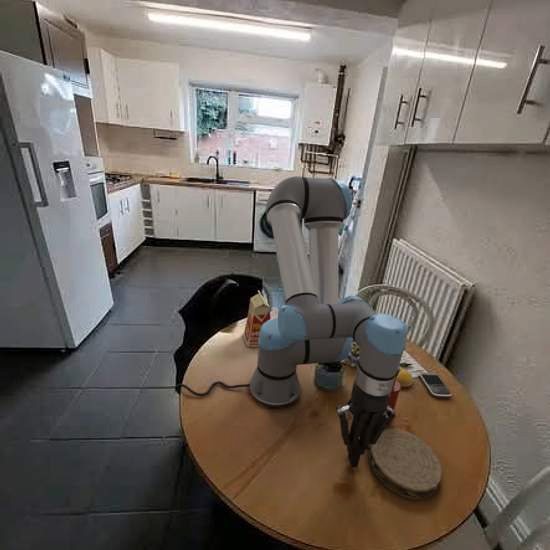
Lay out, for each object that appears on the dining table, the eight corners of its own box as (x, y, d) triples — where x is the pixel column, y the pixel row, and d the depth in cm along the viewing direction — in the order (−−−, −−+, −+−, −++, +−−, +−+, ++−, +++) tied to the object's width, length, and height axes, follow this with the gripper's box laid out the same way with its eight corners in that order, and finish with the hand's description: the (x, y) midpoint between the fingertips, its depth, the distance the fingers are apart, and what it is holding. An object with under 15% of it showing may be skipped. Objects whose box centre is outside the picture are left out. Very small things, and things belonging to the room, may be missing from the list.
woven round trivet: (411, 433, 84) (414, 424, 83) (454, 492, 70) (458, 483, 69) (357, 440, 81) (360, 432, 79) (391, 505, 66) (394, 496, 65)
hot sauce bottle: (374, 424, 86) (388, 373, 79) (367, 408, 91) (380, 359, 84) (394, 424, 86) (409, 374, 79) (386, 409, 91) (400, 360, 85)
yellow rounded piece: (404, 392, 99) (407, 382, 97) (379, 376, 105) (382, 366, 103) (416, 381, 104) (419, 371, 102) (392, 367, 110) (394, 357, 108)
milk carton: (243, 334, 121) (245, 288, 114) (265, 332, 124) (269, 287, 116) (248, 348, 113) (251, 300, 106) (272, 345, 116) (276, 298, 109)
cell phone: (432, 398, 97) (433, 395, 96) (417, 374, 107) (418, 371, 107) (451, 399, 97) (453, 395, 97) (434, 375, 107) (435, 372, 107)
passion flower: (350, 378, 111) (334, 353, 107) (355, 356, 119) (340, 333, 116) (380, 373, 104) (364, 347, 101) (383, 351, 113) (368, 326, 110)
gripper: (347, 398, 60) (329, 478, 70) (410, 398, 62) (385, 476, 71) (337, 372, 67) (322, 448, 76) (394, 372, 69) (372, 447, 78)
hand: (352, 461), depth 74 cm, fingers closed
